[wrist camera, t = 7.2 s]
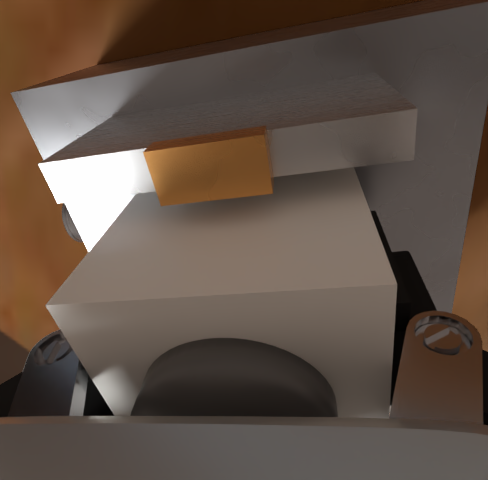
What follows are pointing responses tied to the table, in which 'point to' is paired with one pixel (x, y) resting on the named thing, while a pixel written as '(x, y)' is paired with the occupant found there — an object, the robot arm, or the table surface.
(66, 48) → the table surface
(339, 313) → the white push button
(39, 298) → the table surface
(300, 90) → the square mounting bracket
